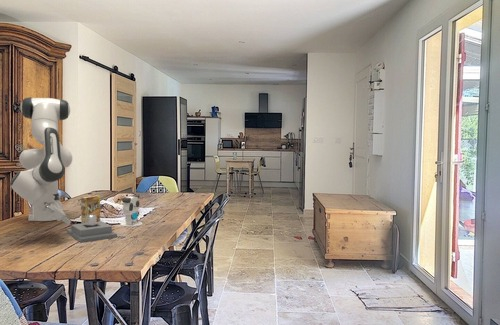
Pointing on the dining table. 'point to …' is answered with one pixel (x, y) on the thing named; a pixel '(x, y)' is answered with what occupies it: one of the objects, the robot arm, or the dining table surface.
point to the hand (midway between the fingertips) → (68, 221)
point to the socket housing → (91, 232)
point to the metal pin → (90, 220)
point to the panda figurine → (131, 211)
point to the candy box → (90, 207)
